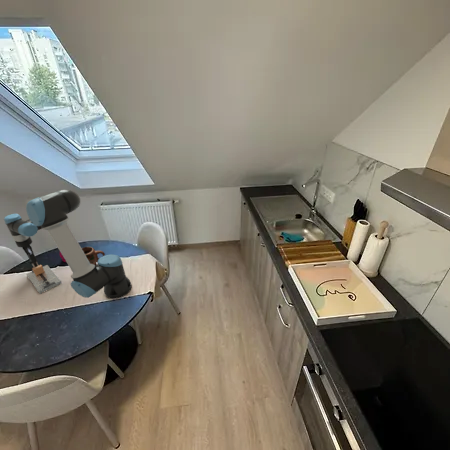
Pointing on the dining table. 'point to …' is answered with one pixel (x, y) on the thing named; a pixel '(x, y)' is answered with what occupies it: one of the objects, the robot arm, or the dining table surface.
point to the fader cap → (38, 270)
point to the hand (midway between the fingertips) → (37, 269)
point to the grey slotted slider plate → (44, 279)
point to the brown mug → (92, 254)
